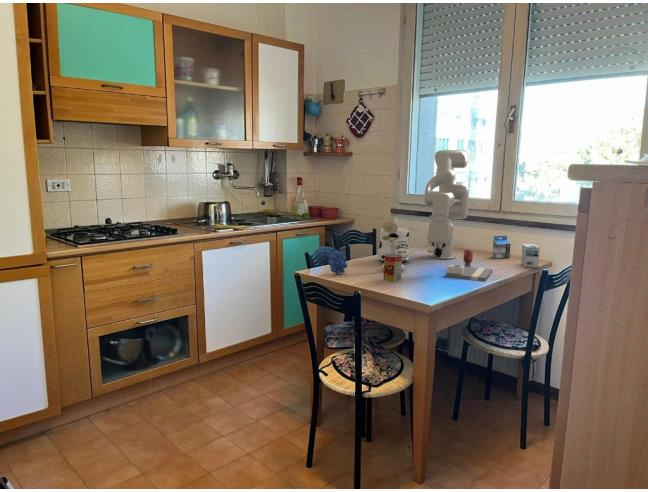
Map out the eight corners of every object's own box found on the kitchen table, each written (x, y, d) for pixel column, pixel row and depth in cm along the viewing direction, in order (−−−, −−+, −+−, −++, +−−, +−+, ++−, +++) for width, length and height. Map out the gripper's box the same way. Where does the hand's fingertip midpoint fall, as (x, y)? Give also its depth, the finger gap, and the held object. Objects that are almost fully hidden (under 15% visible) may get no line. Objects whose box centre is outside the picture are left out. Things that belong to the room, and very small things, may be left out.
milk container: (403, 266, 243) (404, 232, 240) (372, 263, 252) (373, 229, 249) (414, 260, 258) (415, 228, 255) (384, 257, 267) (385, 226, 263)
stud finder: (446, 272, 224) (447, 266, 223) (449, 270, 228) (449, 264, 227) (461, 274, 220) (462, 267, 220) (464, 272, 225) (464, 265, 224)
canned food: (389, 277, 220) (390, 252, 218) (404, 280, 216) (405, 254, 213) (380, 280, 214) (380, 255, 212) (395, 283, 210) (396, 257, 207)
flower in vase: (409, 270, 234) (410, 220, 230) (396, 274, 226) (397, 223, 222) (387, 266, 243) (388, 218, 239) (374, 270, 235) (375, 220, 231)
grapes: (335, 278, 219) (335, 253, 217) (325, 275, 224) (325, 251, 222) (352, 274, 227) (353, 249, 224) (342, 272, 231) (343, 248, 229)
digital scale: (445, 276, 222) (446, 273, 222) (455, 268, 240) (455, 265, 240) (485, 281, 214) (485, 277, 214) (492, 272, 232) (492, 269, 231)
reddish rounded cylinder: (462, 267, 242) (463, 250, 240) (464, 265, 246) (465, 248, 244) (471, 268, 240) (472, 251, 238) (472, 266, 244) (473, 249, 242)
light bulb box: (538, 268, 241) (540, 247, 239) (524, 267, 242) (526, 246, 240) (533, 263, 251) (535, 243, 249) (520, 263, 253) (522, 243, 251)
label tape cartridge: (495, 258, 263) (497, 237, 261) (491, 257, 267) (493, 236, 265) (509, 258, 265) (511, 236, 263) (505, 256, 269) (507, 235, 267)
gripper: (422, 218, 223) (420, 256, 226) (454, 220, 217) (452, 259, 219) (426, 217, 230) (425, 254, 233) (457, 218, 223) (455, 256, 226)
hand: (438, 256), depth 226 cm, fingers closed
